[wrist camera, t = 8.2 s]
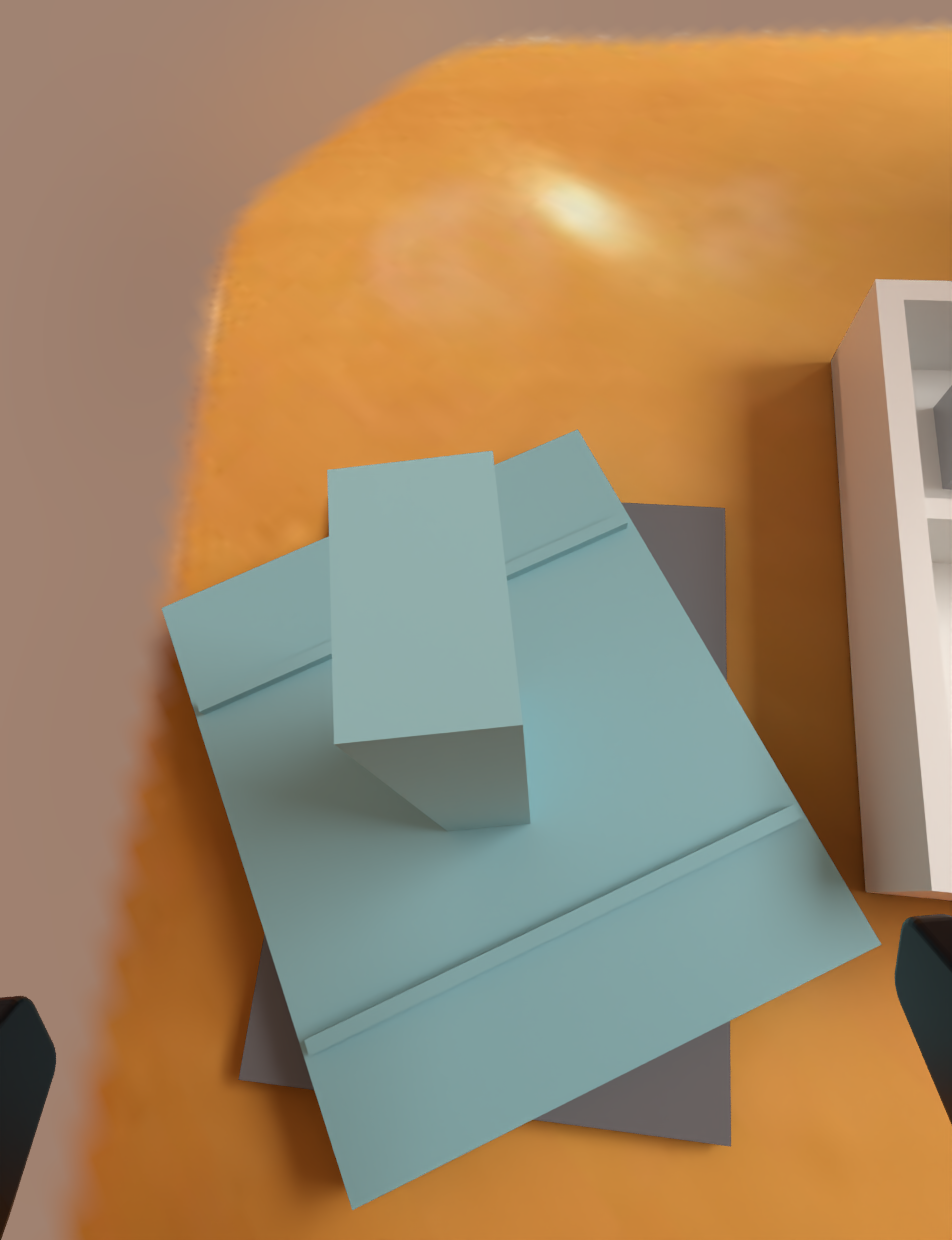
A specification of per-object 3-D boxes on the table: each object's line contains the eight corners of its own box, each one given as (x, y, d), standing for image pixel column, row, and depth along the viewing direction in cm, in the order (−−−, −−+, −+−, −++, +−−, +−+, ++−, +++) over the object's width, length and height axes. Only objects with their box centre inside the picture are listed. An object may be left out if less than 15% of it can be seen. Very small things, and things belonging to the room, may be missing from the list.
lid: (865, 942, 16) (1425, 1015, 6) (361, 1194, 15) (11, 1784, 5) (576, 446, 21) (614, 9, 10) (175, 619, 20) (-205, 323, 10)
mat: (725, 1139, 15) (730, 1146, 15) (245, 1075, 16) (238, 1080, 16) (721, 515, 20) (724, 508, 20) (347, 495, 21) (343, 488, 21)
